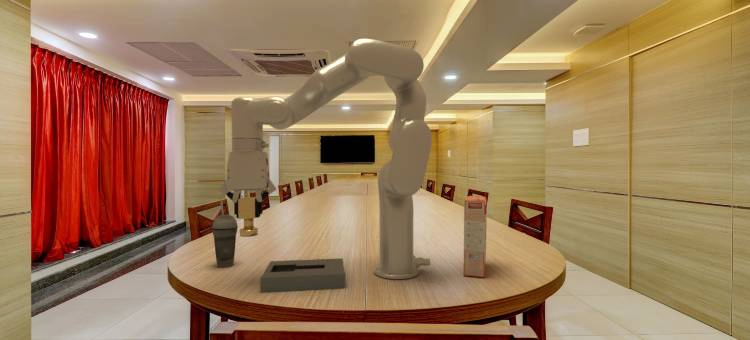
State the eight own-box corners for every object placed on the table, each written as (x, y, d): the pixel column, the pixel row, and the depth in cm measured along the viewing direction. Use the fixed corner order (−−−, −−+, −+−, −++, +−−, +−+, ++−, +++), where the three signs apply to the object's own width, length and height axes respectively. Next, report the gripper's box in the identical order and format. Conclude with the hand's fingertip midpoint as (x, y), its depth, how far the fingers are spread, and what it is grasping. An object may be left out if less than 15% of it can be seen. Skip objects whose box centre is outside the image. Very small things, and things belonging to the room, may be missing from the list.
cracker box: (486, 278, 89) (486, 200, 88) (462, 276, 90) (462, 199, 90) (486, 264, 102) (486, 195, 102) (466, 262, 104) (466, 195, 103)
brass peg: (259, 233, 89) (259, 197, 89) (255, 236, 85) (255, 198, 84) (242, 233, 88) (241, 197, 88) (237, 237, 84) (237, 199, 84)
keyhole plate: (342, 270, 96) (342, 258, 96) (344, 288, 82) (344, 273, 82) (270, 273, 93) (270, 261, 93) (260, 292, 79) (260, 277, 79)
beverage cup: (228, 269, 97) (227, 201, 96) (206, 268, 98) (205, 200, 98) (243, 262, 104) (242, 198, 104) (222, 261, 105) (221, 198, 105)
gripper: (283, 147, 91) (283, 214, 91) (218, 147, 89) (219, 216, 89) (278, 145, 84) (279, 218, 84) (208, 145, 81) (209, 220, 82)
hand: (248, 216), depth 86 cm, fingers closed on brass peg, 4 cm apart
